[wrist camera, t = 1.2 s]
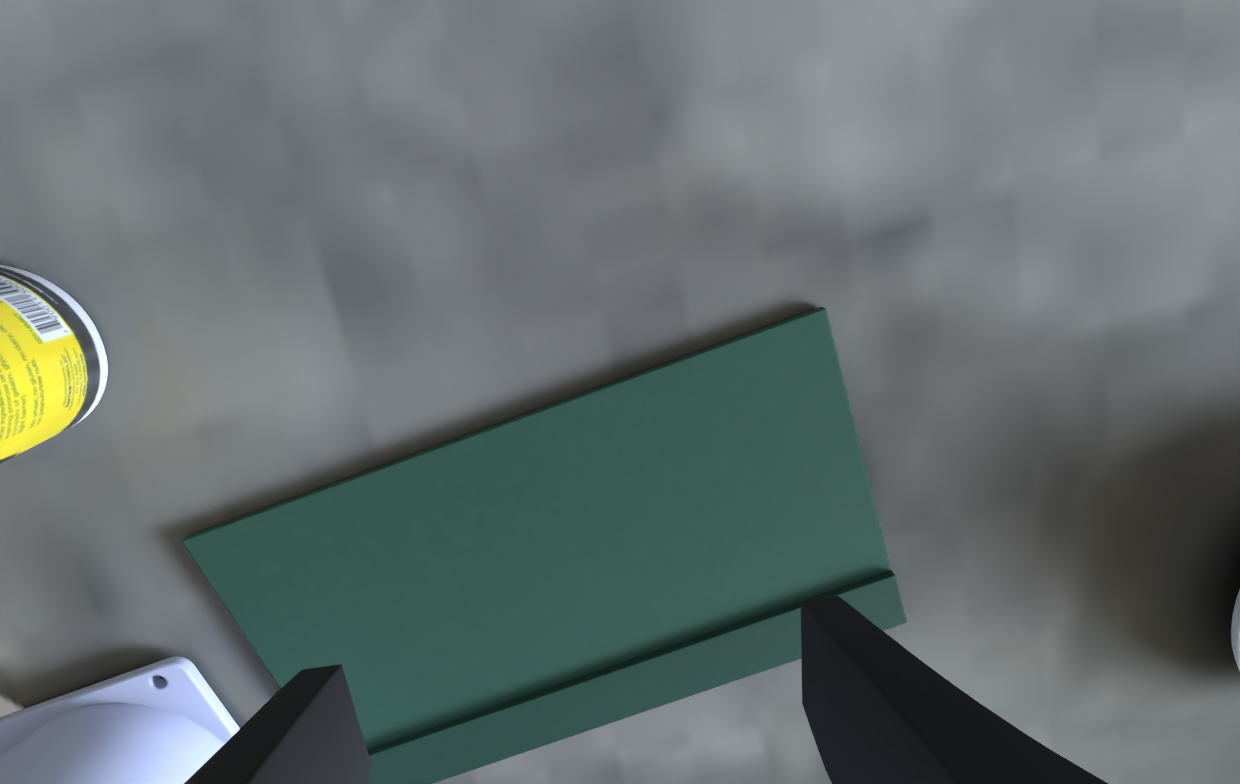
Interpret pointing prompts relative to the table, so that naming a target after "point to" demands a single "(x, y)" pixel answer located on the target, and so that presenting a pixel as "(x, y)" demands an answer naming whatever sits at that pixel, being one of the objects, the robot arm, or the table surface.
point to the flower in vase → (1236, 631)
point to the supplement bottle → (44, 361)
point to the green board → (571, 556)
